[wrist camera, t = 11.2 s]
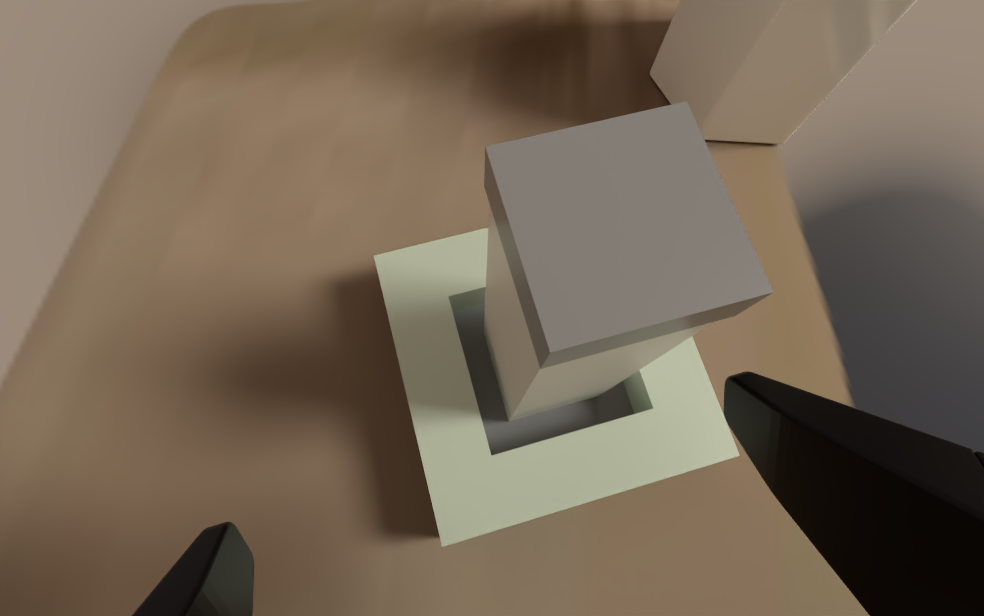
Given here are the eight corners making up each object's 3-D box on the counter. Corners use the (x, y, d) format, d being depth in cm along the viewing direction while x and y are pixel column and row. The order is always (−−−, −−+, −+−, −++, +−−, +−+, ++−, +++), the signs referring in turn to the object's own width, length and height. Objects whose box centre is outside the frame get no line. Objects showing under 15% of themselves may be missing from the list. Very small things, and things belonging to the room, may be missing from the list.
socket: (707, 457, 23) (739, 455, 20) (446, 537, 22) (442, 546, 19) (617, 222, 26) (634, 191, 23) (385, 280, 25) (373, 255, 22)
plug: (601, 397, 23) (773, 292, 10) (506, 424, 23) (550, 352, 9) (571, 307, 24) (687, 101, 11) (480, 331, 24) (485, 146, 10)
